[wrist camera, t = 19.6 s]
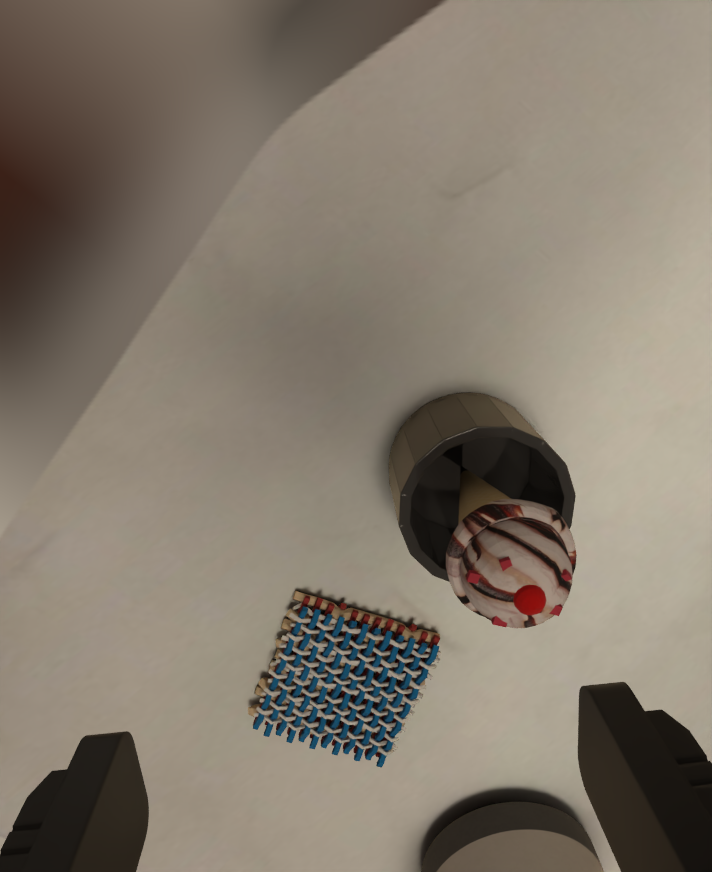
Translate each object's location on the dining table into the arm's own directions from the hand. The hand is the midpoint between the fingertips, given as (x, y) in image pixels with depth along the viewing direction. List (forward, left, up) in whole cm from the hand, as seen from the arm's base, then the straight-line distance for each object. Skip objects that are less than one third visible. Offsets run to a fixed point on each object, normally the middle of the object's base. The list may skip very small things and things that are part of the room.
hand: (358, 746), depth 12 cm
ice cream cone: (+8, +5, -28) cm, 29 cm away
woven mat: (+19, -7, -28) cm, 35 cm away
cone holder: (+8, +5, -28) cm, 30 cm away
